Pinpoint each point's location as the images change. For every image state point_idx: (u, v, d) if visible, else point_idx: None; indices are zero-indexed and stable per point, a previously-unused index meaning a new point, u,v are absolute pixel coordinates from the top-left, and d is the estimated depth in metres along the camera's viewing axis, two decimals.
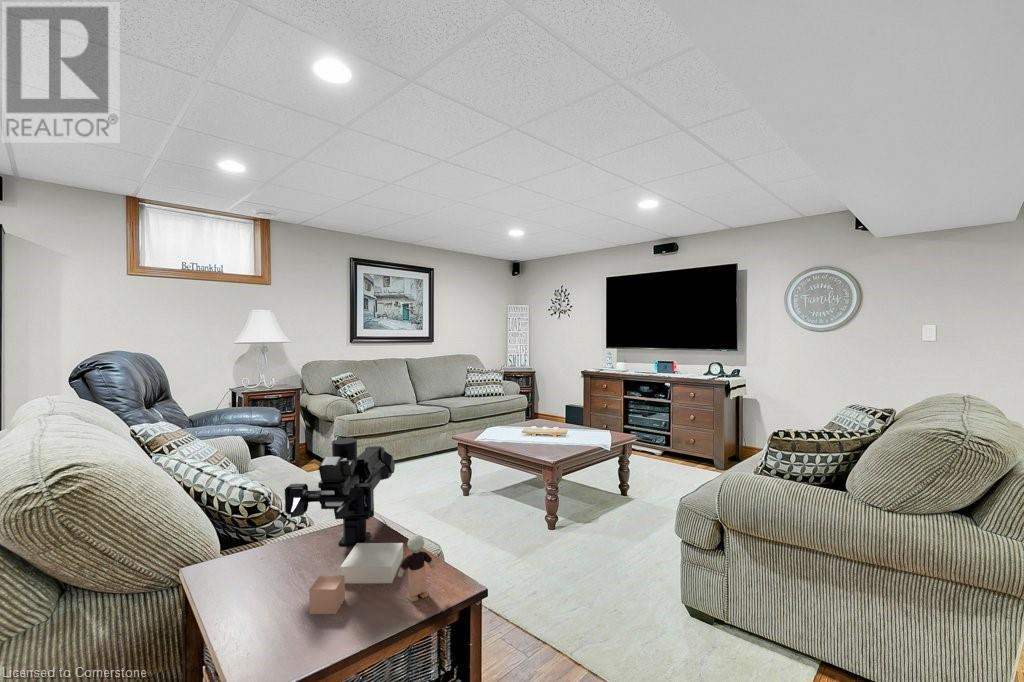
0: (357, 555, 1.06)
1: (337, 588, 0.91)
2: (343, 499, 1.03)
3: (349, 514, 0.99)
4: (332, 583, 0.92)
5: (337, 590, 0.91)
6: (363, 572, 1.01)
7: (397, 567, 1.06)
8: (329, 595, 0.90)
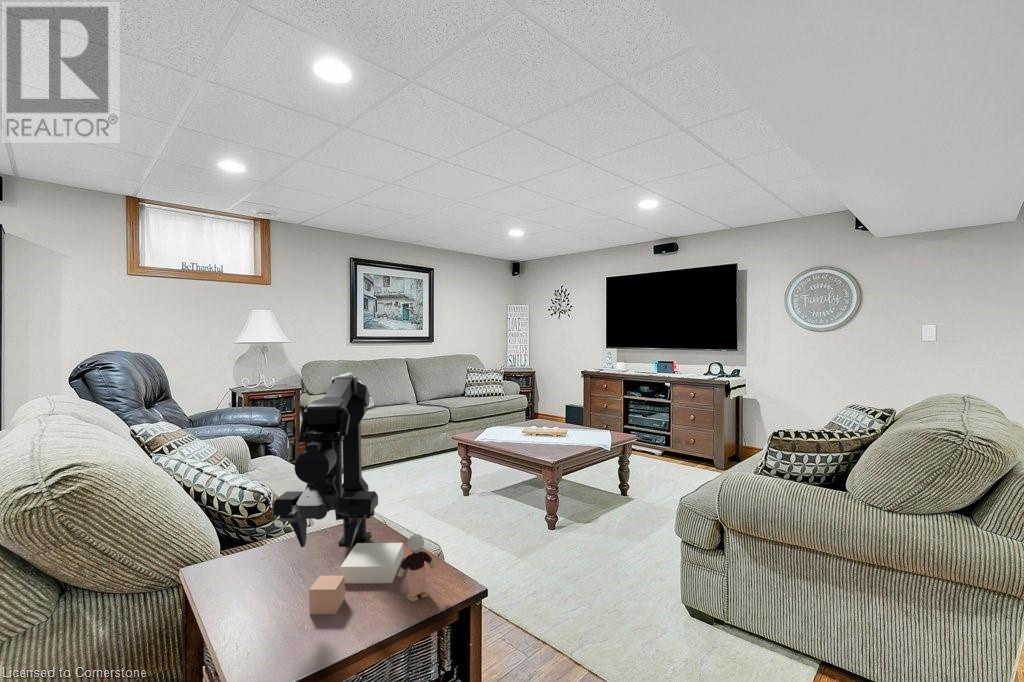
0: (357, 555, 1.06)
1: (337, 588, 0.91)
2: None
3: (359, 524, 0.93)
4: (332, 583, 0.92)
5: (337, 590, 0.91)
6: (363, 572, 1.01)
7: (397, 567, 1.06)
8: (329, 595, 0.90)
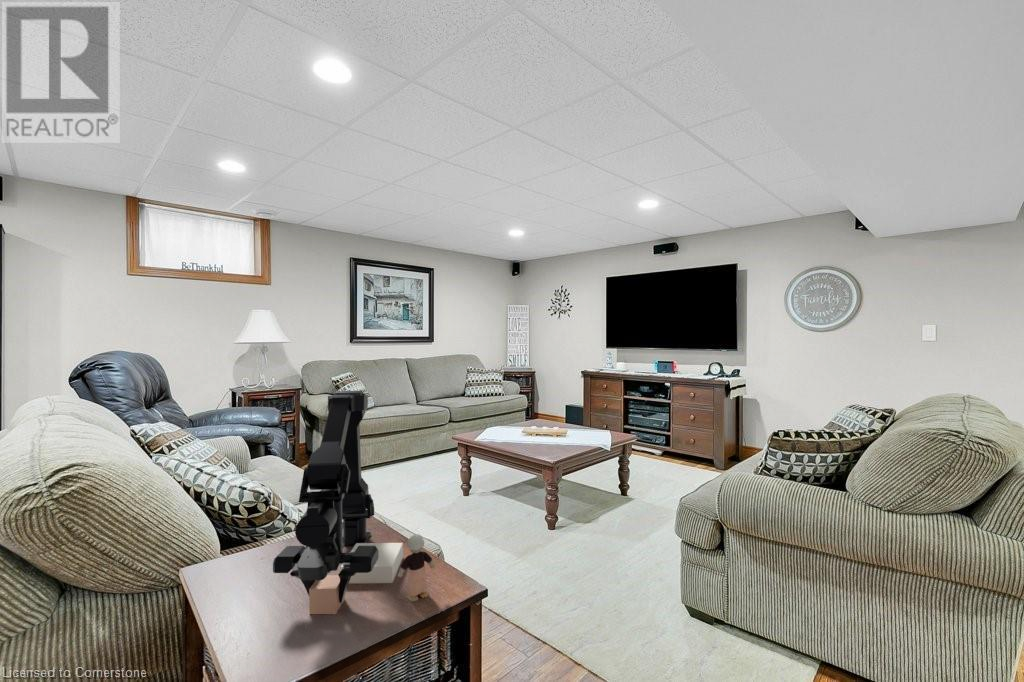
0: None
1: (337, 588, 0.91)
2: None
3: (350, 578, 0.94)
4: (332, 582, 0.92)
5: (337, 589, 0.91)
6: None
7: (397, 567, 1.06)
8: (329, 595, 0.90)
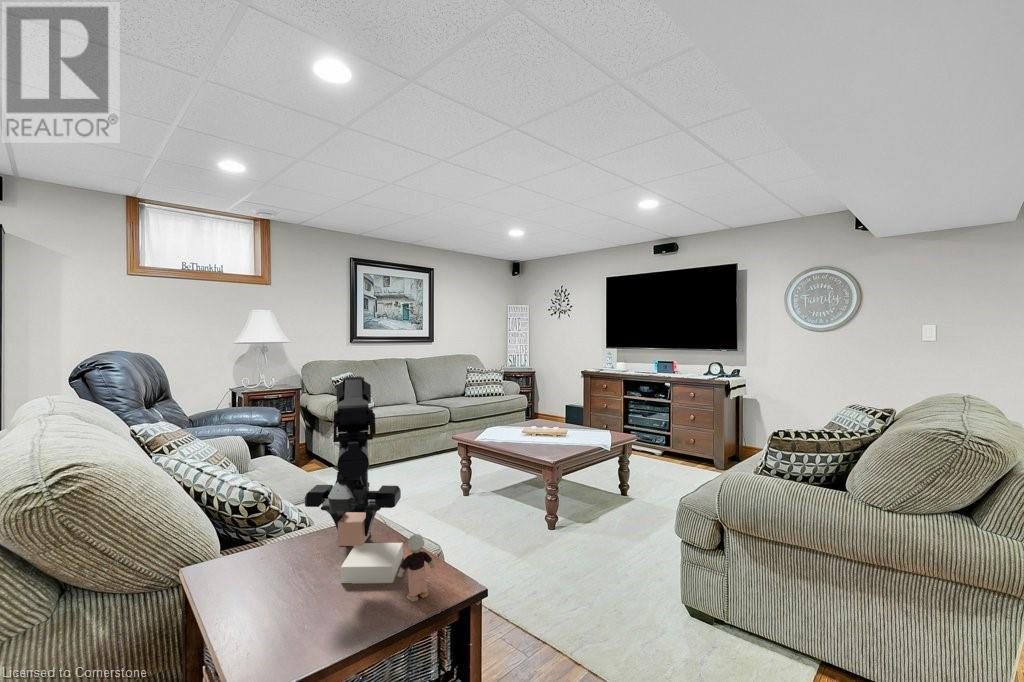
0: (357, 555, 1.06)
1: (363, 522, 0.98)
2: None
3: (374, 515, 1.01)
4: (358, 517, 1.00)
5: (363, 524, 0.98)
6: (363, 572, 1.01)
7: (397, 567, 1.06)
8: (356, 528, 0.97)
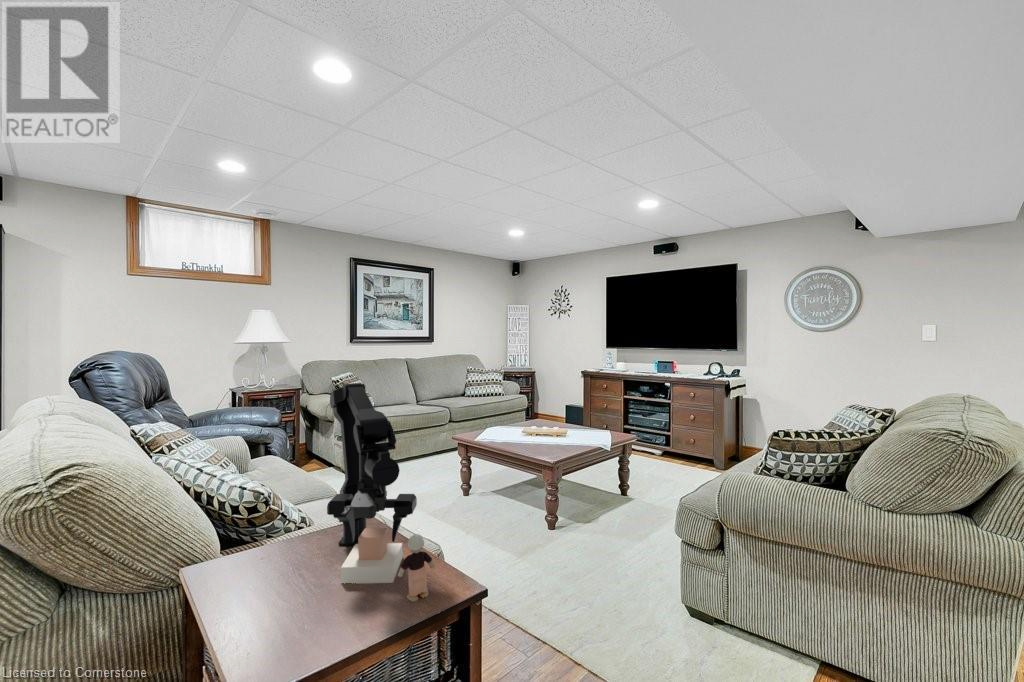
0: (357, 555, 1.06)
1: (382, 537, 1.05)
2: None
3: (400, 522, 1.08)
4: (377, 533, 1.06)
5: (382, 539, 1.05)
6: (364, 573, 1.01)
7: (397, 567, 1.06)
8: (375, 542, 1.04)
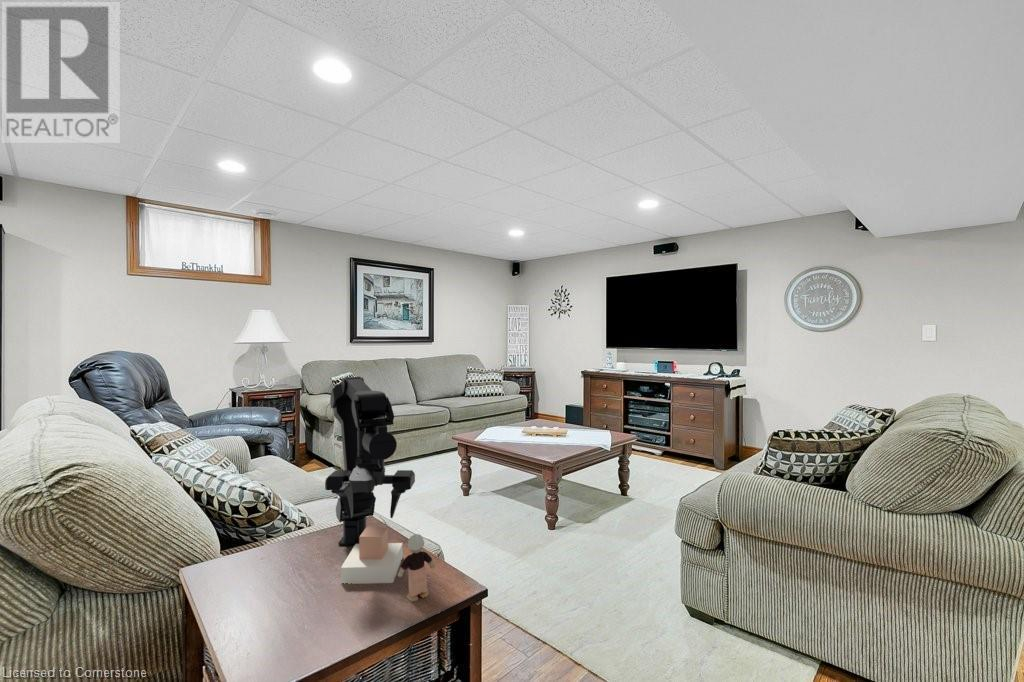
0: (357, 555, 1.06)
1: (383, 536, 1.05)
2: None
3: None
4: (378, 532, 1.06)
5: (383, 538, 1.05)
6: (364, 573, 1.01)
7: (397, 567, 1.06)
8: (376, 542, 1.04)
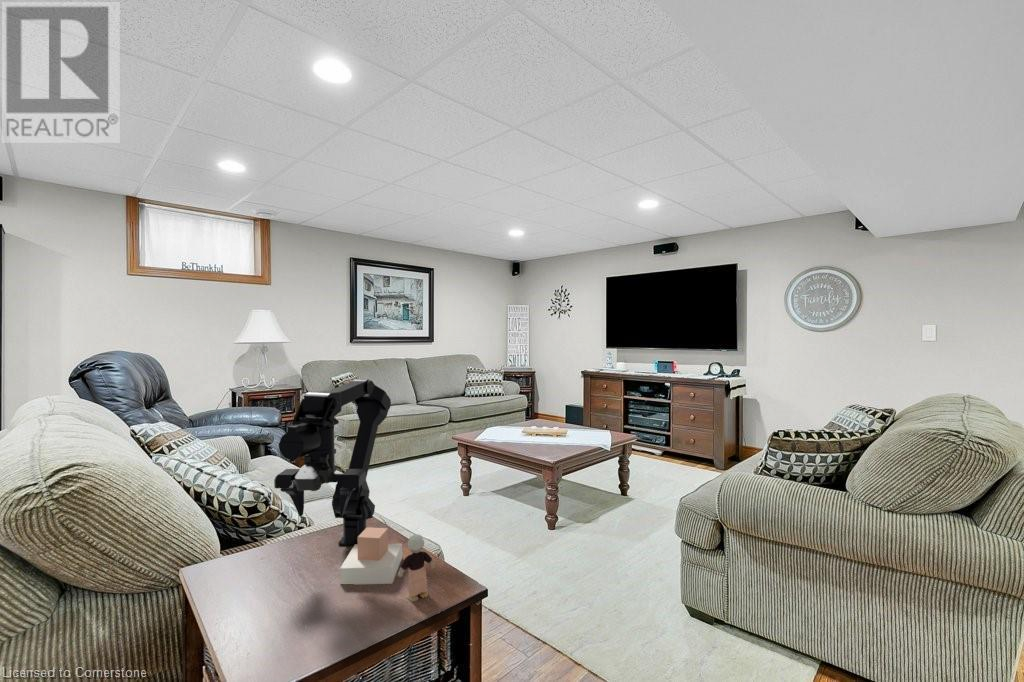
0: (357, 556, 1.05)
1: (381, 537, 1.04)
2: None
3: (349, 497, 1.08)
4: (377, 533, 1.06)
5: (381, 539, 1.04)
6: (363, 573, 1.00)
7: (397, 568, 1.06)
8: (374, 543, 1.03)
